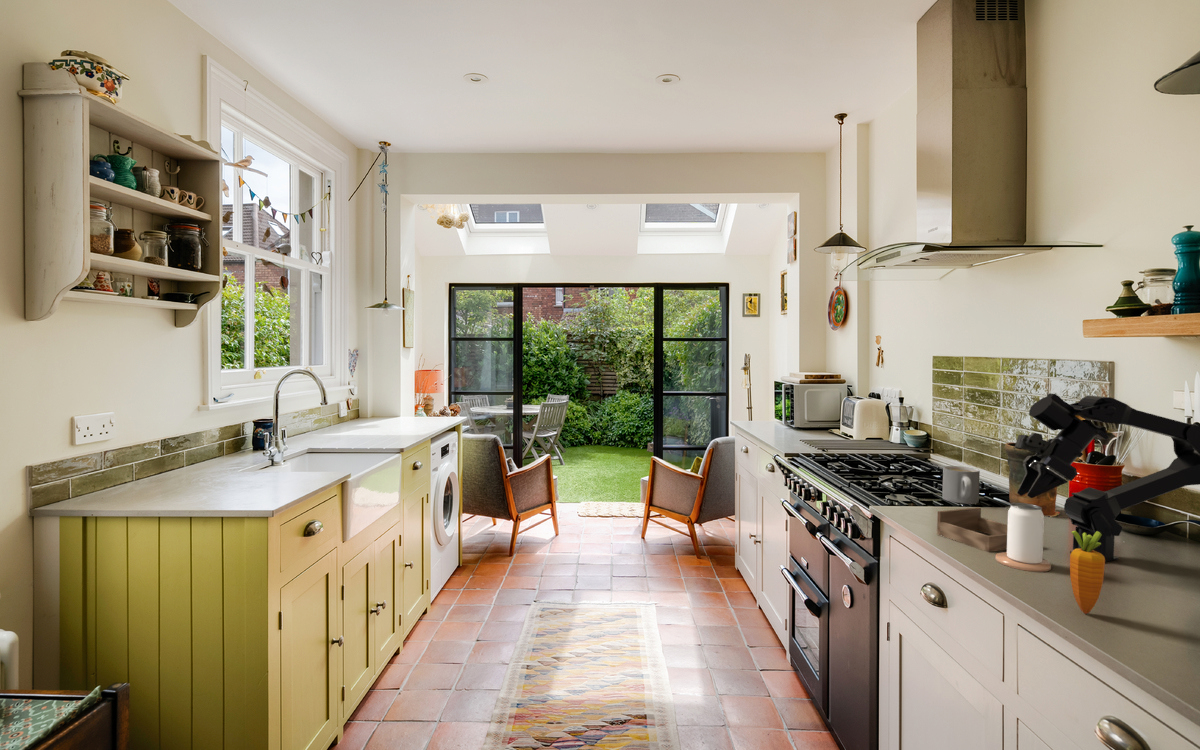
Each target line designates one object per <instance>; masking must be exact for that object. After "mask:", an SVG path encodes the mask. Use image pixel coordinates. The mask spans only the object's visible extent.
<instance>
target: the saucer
mask: <svg viewBox="0 0 1200 750" xmlns="http://www.w3.org/2000/svg"><path fill="white" fill-rule="evenodd" d="M995 561H996V562H997V563H999V564H1001V565H1004V566H1006V567H1009V568H1012V569H1017V570H1020V571H1025V572H1026V571H1028V572H1037V573H1038V572H1039V573H1041V572H1049V571H1050V570H1051V569H1052V564H1051V562H1050V561H1048V560H1046V559H1044V558H1042V562H1041V563H1040V564H1024V563H1019V562H1016V561H1013V560H1011V559H1009V558H1008V556H1007V551H1006V552H1003V551H1002V552H998V553H996V554H995Z"/></svg>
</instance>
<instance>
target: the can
mask: <svg viewBox="0 0 1200 750" xmlns="http://www.w3.org/2000/svg"><path fill="white" fill-rule="evenodd" d="M1041 509H1042V508H1041V507H1039V506H1036V505H1032V504H1026V503H1011V507H1010V509H1009V510H1008V511H1007V525H1008V527H1007V549H1006V552H1007V556H1008V558H1009V559H1011V560H1013V561H1016V562H1019V563H1024V564H1040V563H1041V562H1042V559H1044V558H1043V555H1044V553H1043V551H1044V526H1045V523H1044V521H1045V517H1044V515H1043V513H1042V511H1041Z"/></svg>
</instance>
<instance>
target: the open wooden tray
mask: <svg viewBox="0 0 1200 750" xmlns="http://www.w3.org/2000/svg"><path fill="white" fill-rule="evenodd" d="M981 516H982V508H981V507H979V506H977V507H967V508H966V507H965V508H958V509H947V510H938V511H937V523H936V525H937V526H936V528H937V529H936V535H937V534H938V536H940V535H942V536H941V537H943V536H944V537H943V538H946V537H947V538H946V539H949V538H950V539H949V540H952V539H953V540H952V541H955V540H956V541H955V542H957V543H960V544H963V543H964V545H966V546H970V547H973V548H976V549H979V550H981V551H984V552H986V553H987V552H988V553H990V552H991V553H992V552H997V551H1004V550H1006V551H1007V527H1008V524H1005V523H1001V522H1000V521H998V522H997V521H994V520H991V519H988V518H984V517H981ZM987 534H988V535H987Z"/></svg>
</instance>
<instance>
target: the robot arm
mask: <svg viewBox="0 0 1200 750" xmlns="http://www.w3.org/2000/svg"><path fill="white" fill-rule="evenodd" d="M1028 415H1029V416H1031V417H1032V418H1033V419H1035V420H1037V421H1038V422H1039V423H1041V424H1042V425H1044V426H1045V427H1046V428H1048V429H1049V430H1051V431H1059V432H1058V433H1057V434H1056V435H1055V436H1054V438H1049V439H1047V440H1046V439H1043V435H1042V434H1041V433H1037V432H1032V433H1031V434H1030V435H1026V434H1018V436H1017V439H1016V442H1015V443H1016V445H1015V448H1017V449H1024V450H1028V451H1031V452H1035V453H1036V454H1035V455H1036V456H1027V457H1026V459H1025V460H1024V461H1023V463H1024V464H1023V466H1024V469H1025V476H1024V478H1023V480H1022V482H1021V485H1020V487H1019V489H1018V491H1017V493H1018V494H1019V495H1021V496H1022V495H1024V494H1026V493H1028V494H1027V496H1028V497H1030V498H1034V497H1036V496H1038V495H1040V494H1042V493H1044V492H1047V491H1049V490H1051V489H1053V488H1056V487H1057V488H1058V487H1060V486H1062V485H1064V484H1067V483H1068V482H1072V481H1074V479H1075V478H1076V477H1077V475H1078V470H1077V467H1075V466H1073V465H1072V464H1073V463H1074V461H1076V460H1077V458H1081V457H1082V456H1083V455H1084V453H1083V451H1084V450H1085V449H1086V448H1088V446H1089V444H1090V443H1092V441H1093V440H1094V439H1095V438H1099V439H1102V440H1108V439H1109V435H1108V432H1107V427H1106V426H1101V425H1095V424H1094V423H1093V422H1099V423H1103V424H1104V423H1105V424H1114V425H1115V424H1116V425H1125V426H1129V427H1133V428H1136V429H1140V430H1144V431H1147V432H1151V433H1154V434H1158V435H1161V436H1166V437H1170V439H1171V440H1172V443H1173V452H1174V454H1175V456H1176V458H1174V459H1173V460H1172V461H1171V463H1170V464H1169V466H1168V467H1166V468H1163V469H1161V470H1159V471H1156V472H1153V473H1151V474H1148V475H1145V476H1142V477H1141V478H1137V479H1134V480H1132V481H1129V482H1127V483H1123V484H1122V485H1119V486H1117V487H1113V488H1111V489H1109V490H1106V491H1103V490H1099V489H1097V488H1092V487H1085V488H1084V489H1082V490H1081V491H1078V492H1071V496H1069V497H1067V498H1066V500H1065V503H1064V505H1063V510H1064V513H1065V515H1066V516H1067V517H1068V518H1069V520H1070V523H1071V525H1073V526H1075V530H1074V531H1076V532H1077V533H1078V534H1079V535H1080V537H1081V539H1082V542H1083V533H1086V534H1087V535H1091V536H1092V537H1093V535H1094V534H1095V532H1096V531H1098V532H1100V533H1101V534H1102V535H1101V537H1100V539H1099V540H1098V541H1097V542H1099V543H1101V545H1099V546H1098V547H1096V548H1095V549H1093V550H1094V551H1096V552H1099V553H1101V554H1102V555H1103V556H1104V558H1105V563H1107V562H1111V561H1117V560H1119V557H1118V556H1116V555H1115V537H1119V536H1120V534H1121V533H1122V530H1123V527H1122V525H1121V524H1119V522H1117V520H1116V518H1117V517H1118V515H1119V514H1120V513H1121V511H1123V510H1125V509H1128V508H1131V507H1133V506H1136V505H1138V504H1141V503H1143V502H1146V501H1148V500H1152V499H1155V498H1157V497H1159V496H1163V495H1165V494H1167V493H1171V492H1173V491H1176V490H1179V489H1180V488H1181V489H1182V488H1183V487H1187V486H1197V485H1198V486H1199V485H1200V426H1199V425H1197V424H1193V423H1188V422H1182V421H1179V420H1176V419H1171V418H1168V417H1164V416H1160V415H1157V414H1153V413H1148V412H1145V411H1142V410H1138V409H1136V408H1133V407H1131V405H1128V403H1127V404H1126V402H1122V401H1121V400H1119V399H1116V398H1114V397H1109V396H1099V395H1086V396H1084V397H1083V398H1081V399H1080V400H1079V401H1077V402H1074V403H1073V402H1072V403H1070V404H1069V403H1068V402H1066V401H1064V399H1062V398H1061V397H1060V396H1059V395H1057V394H1056V393H1048V394H1047V395H1046V396H1045V397H1042V398H1041V399H1039V400H1038V401H1036V402H1034V403H1033V404H1032V406H1031V407H1030V408H1029V413H1028ZM1077 416H1078V417H1077ZM1079 416H1080V418H1082V419H1080V418H1079ZM1092 421H1093V422H1092ZM1091 539H1092V538H1091ZM1091 539H1090V540H1091ZM1075 549H1081V547H1080V545H1079V543H1078V542H1077V540H1076V538H1075V536H1074V535H1073V534H1072V550H1070V551H1069V554H1070V555H1071V552H1072V551H1073V550H1075Z"/></svg>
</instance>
